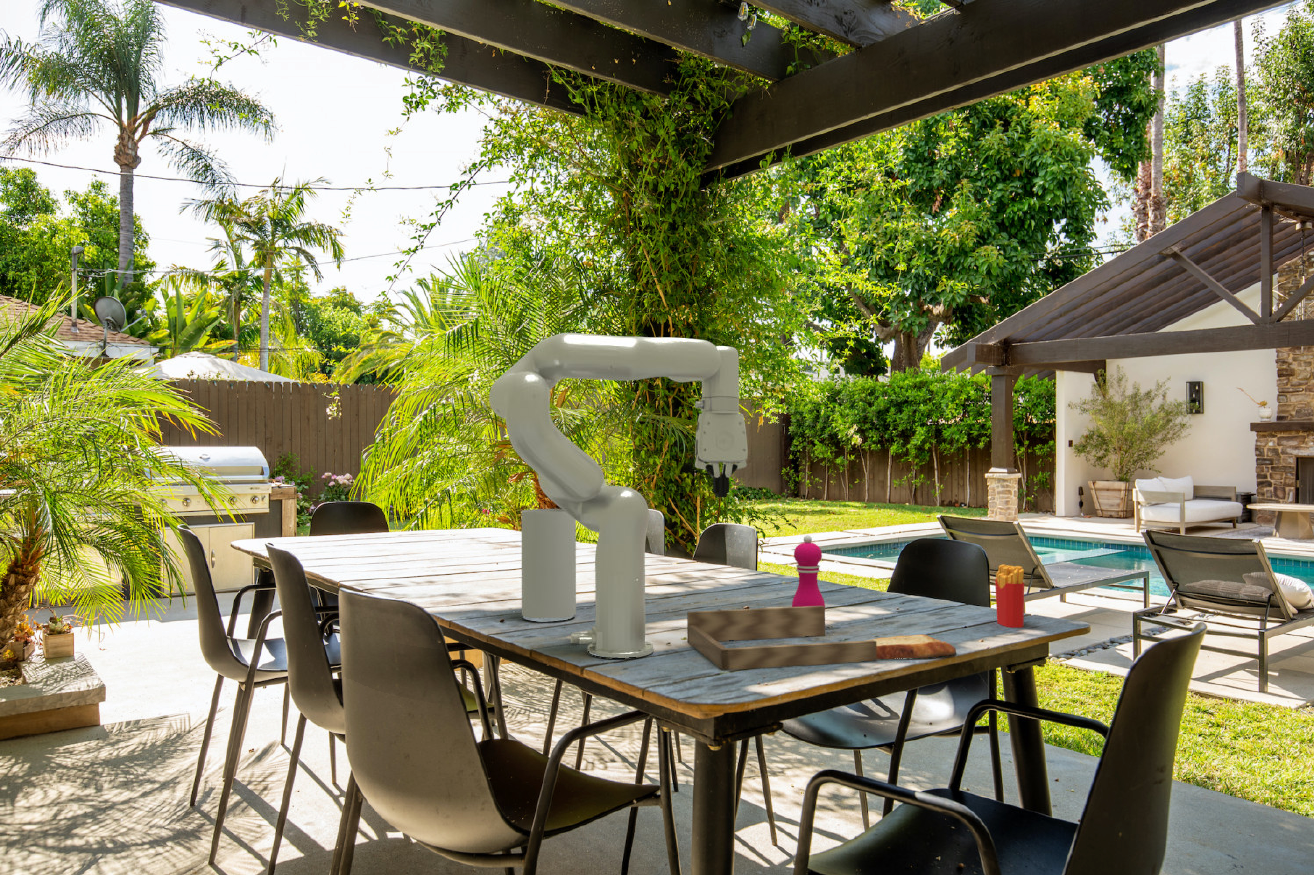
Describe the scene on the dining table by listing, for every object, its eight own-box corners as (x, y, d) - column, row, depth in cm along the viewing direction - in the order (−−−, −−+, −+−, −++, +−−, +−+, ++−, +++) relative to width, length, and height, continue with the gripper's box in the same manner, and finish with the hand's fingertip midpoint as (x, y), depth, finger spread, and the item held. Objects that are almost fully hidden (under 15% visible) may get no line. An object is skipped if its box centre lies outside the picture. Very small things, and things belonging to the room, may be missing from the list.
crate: (722, 670, 152) (721, 635, 152) (687, 641, 176) (687, 611, 176) (876, 660, 159) (876, 627, 159) (822, 634, 182) (822, 605, 182)
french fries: (992, 621, 196) (991, 563, 196) (1011, 620, 196) (1010, 562, 197) (1010, 629, 187) (1009, 568, 187) (1030, 628, 187) (1029, 568, 187)
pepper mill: (825, 631, 186) (824, 537, 186) (791, 630, 187) (790, 536, 188) (825, 624, 193) (824, 534, 193) (792, 623, 194) (791, 533, 195)
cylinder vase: (556, 611, 212) (556, 508, 212) (586, 618, 202) (586, 510, 203) (511, 617, 204) (511, 510, 204) (540, 625, 194) (540, 512, 195)
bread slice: (835, 659, 162) (834, 638, 162) (872, 642, 177) (872, 623, 177) (931, 672, 151) (931, 651, 152) (962, 653, 166) (962, 633, 166)
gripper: (689, 405, 173) (690, 498, 173) (761, 406, 176) (762, 497, 176) (680, 408, 181) (681, 496, 180) (749, 408, 184) (750, 495, 183)
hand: (721, 496), depth 178 cm, fingers closed
